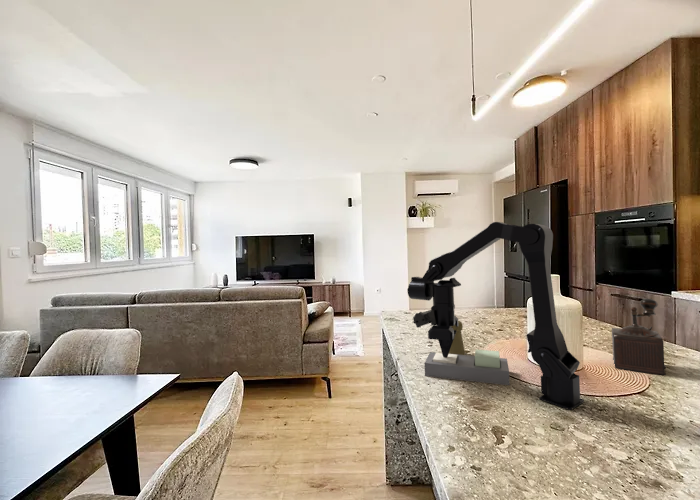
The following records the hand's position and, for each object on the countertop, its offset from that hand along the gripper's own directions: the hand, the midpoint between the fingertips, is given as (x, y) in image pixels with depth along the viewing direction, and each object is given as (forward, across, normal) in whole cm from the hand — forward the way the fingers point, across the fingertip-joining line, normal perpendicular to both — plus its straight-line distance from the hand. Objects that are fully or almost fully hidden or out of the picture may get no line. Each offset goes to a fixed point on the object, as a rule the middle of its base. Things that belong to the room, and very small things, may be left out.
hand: (445, 357), depth 93 cm
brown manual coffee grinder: (+4, -22, +50) cm, 55 cm away
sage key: (+1, 0, +11) cm, 11 cm away
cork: (+4, -16, +1) cm, 17 cm away
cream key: (+3, 0, 0) cm, 3 cm away
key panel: (+4, 0, +6) cm, 7 cm away
